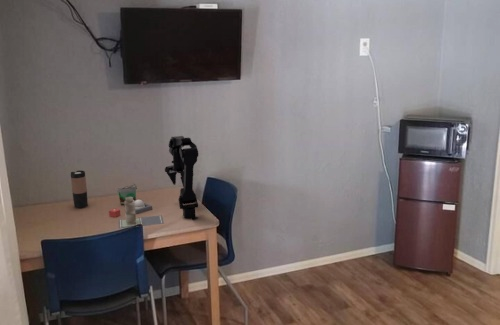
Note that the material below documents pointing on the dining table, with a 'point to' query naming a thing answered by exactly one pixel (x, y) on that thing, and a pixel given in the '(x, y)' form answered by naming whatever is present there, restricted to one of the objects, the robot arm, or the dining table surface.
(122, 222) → the board
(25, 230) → the dining table surface
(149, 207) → the dome housing
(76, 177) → the travel mug
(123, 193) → the food container
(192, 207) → the robot arm
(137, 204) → the dome button
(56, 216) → the dining table surface
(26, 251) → the dining table surface
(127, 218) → the capped square post
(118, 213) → the red die
